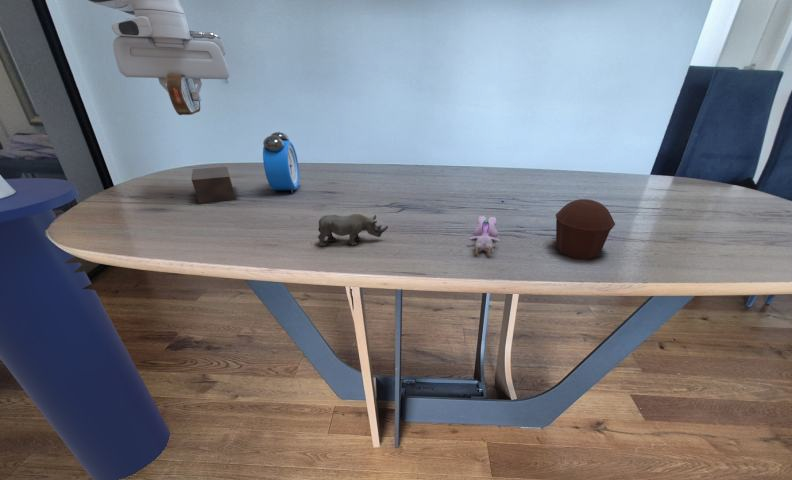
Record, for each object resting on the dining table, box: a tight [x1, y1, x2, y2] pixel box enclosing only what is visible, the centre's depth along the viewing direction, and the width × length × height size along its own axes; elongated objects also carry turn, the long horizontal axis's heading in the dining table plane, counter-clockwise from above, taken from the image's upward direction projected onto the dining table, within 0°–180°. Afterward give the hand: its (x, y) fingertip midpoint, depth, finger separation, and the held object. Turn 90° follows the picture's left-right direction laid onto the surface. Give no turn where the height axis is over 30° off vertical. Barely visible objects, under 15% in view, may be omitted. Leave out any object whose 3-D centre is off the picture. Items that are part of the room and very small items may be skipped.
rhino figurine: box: [317, 213, 389, 247], centre depth 74 cm, size 4×14×6 cm, turn 101°
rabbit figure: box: [468, 215, 501, 256], centre depth 76 cm, size 6×6×15 cm
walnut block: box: [191, 166, 237, 205], centre depth 97 cm, size 8×12×6 cm, turn 31°
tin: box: [166, 73, 201, 116], centre depth 85 cm, size 15×3×8 cm, turn 21°
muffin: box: [555, 198, 616, 260], centre depth 73 cm, size 12×11×10 cm
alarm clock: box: [262, 131, 300, 194], centre depth 101 cm, size 13×6×15 cm, turn 11°
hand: (186, 100), depth 85 cm, fingers closed on tin, 3 cm apart
